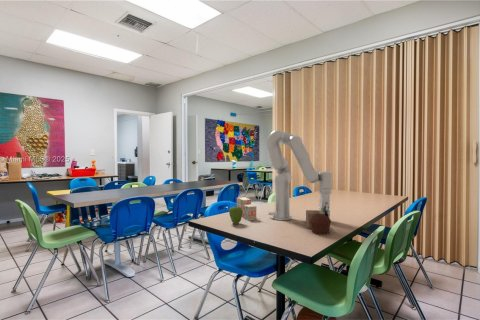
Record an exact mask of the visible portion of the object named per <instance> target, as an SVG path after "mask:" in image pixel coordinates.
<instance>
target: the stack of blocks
mask: <svg viewBox="0 0 480 320" xmlns="http://www.w3.org/2000/svg"><path fill="white" fill-rule="evenodd" d="M236 206H237V207H241V208H242V210H243V214H242V218H243V219H245V220H247V221H255V220H257V205H255V204H252V199H250V198H248V197H245V196H243V197H236Z"/></svg>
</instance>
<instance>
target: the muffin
mask: <svg viewBox="0 0 480 320" xmlns="http://www.w3.org/2000/svg"><path fill="white" fill-rule="evenodd" d="M310 222H311V228H312V229H311V232H312V234H314V235H318V236H319V235H320V236H325V235H326V236H327V235H329V234H330V228H331V223H332V222H333V221H332V219H331V217H330V218H329V217H327V216H326V215H323V214H316V215H314V216H312V217H311V219H310Z"/></svg>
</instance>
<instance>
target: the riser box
mask: <svg viewBox="0 0 480 320" xmlns="http://www.w3.org/2000/svg"><path fill="white" fill-rule="evenodd" d="M316 214H323V215H324V213H323V212H322V211H321V210H319V209H317V210H315V209H314V210H313V209H311V210H310V209H308V210H305V225H306V227H307V229H308V230H312V228H311V222H310V219H311V217H312V216H314V215H316Z"/></svg>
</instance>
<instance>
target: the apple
mask: <svg viewBox="0 0 480 320" xmlns="http://www.w3.org/2000/svg"><path fill="white" fill-rule="evenodd" d="M228 213H229V218H230V221H231V222H232V224H234V225H238V224H240V222H241V220H242V218H243V217H242V214H243V210H242V208H241V207H237V205H235V206H231V207H230V208H229V209H228Z"/></svg>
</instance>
